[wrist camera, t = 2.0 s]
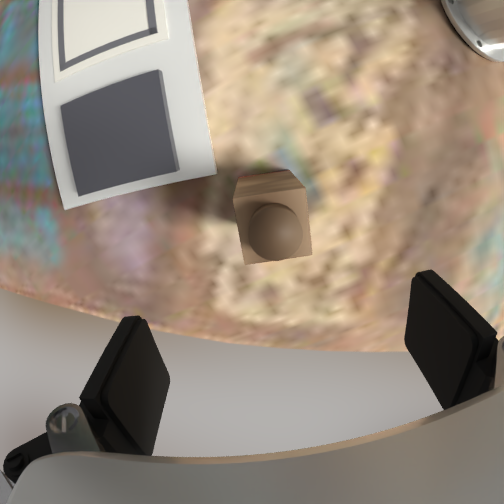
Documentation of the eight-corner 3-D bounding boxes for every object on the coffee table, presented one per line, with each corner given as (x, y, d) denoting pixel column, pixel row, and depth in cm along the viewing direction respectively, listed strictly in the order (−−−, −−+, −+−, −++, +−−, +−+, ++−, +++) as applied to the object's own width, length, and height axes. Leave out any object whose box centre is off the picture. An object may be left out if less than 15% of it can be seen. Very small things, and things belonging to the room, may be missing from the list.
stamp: (289, 169, 26) (309, 192, 17) (295, 218, 28) (316, 264, 19) (238, 177, 26) (230, 204, 17) (246, 225, 28) (244, 275, 19)
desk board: (179, -60, 16) (174, -71, 14) (217, 172, 26) (214, 176, 24) (44, -4, 17) (34, -9, 15) (69, 207, 27) (58, 213, 25)
